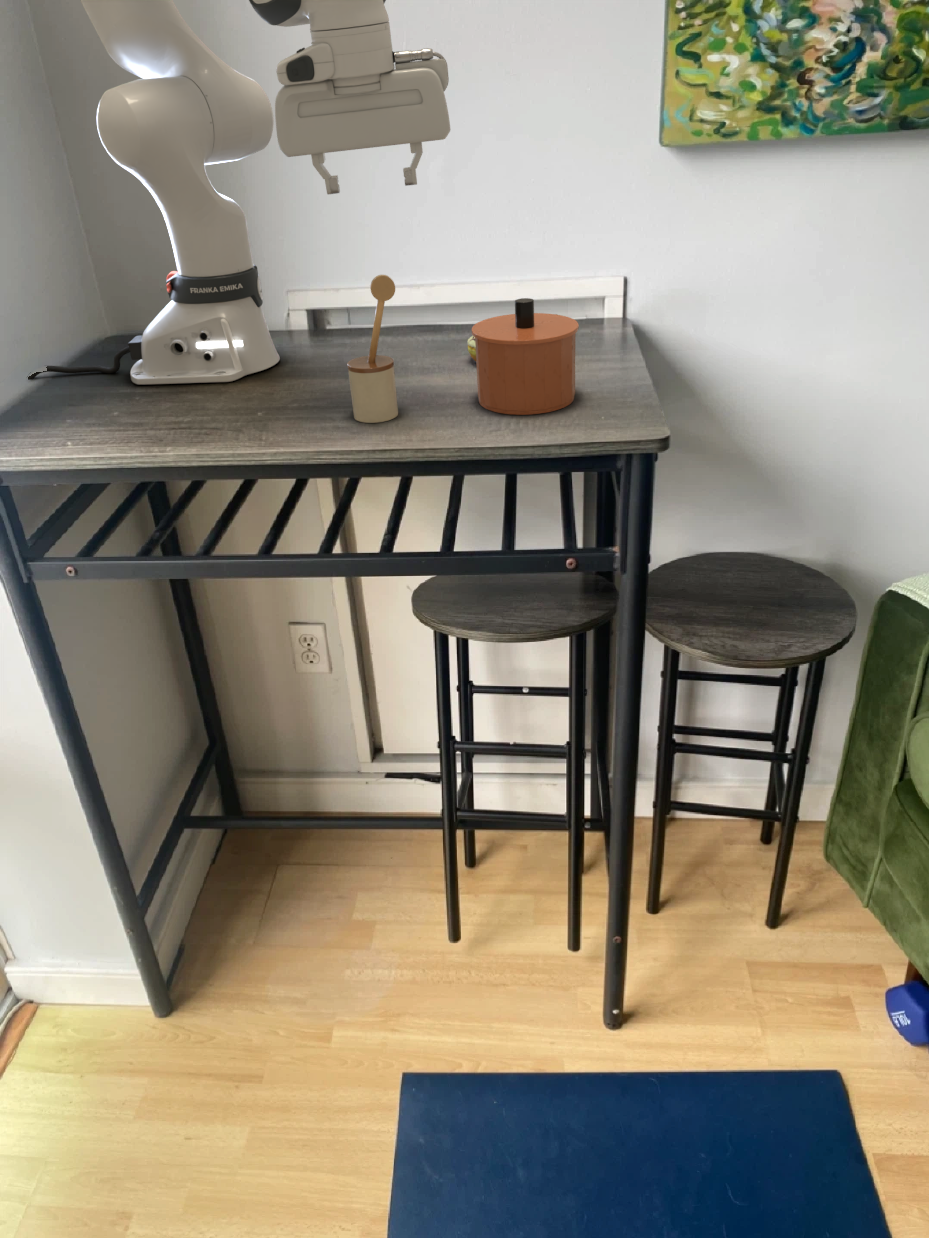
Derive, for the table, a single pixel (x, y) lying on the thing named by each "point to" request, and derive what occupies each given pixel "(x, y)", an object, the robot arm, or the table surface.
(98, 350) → the table surface
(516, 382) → the pot
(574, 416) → the table surface
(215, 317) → the robot arm
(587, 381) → the table surface
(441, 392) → the table surface
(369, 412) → the crock
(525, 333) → the pot lid
